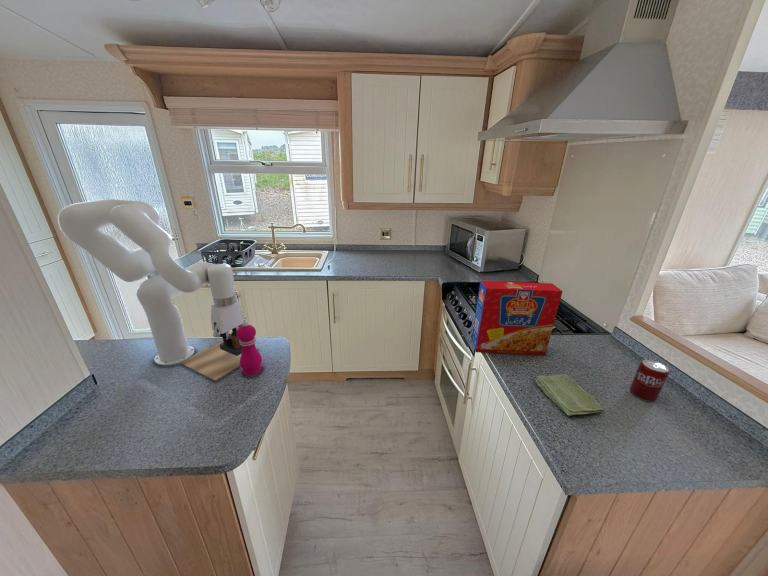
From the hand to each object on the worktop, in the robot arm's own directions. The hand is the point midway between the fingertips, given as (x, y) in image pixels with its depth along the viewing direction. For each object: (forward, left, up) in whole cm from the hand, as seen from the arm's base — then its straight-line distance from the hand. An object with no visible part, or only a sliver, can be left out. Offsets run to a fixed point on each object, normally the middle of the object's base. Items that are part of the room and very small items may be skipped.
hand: (232, 344), depth 113 cm
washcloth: (+111, +39, -6) cm, 118 cm away
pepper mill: (+12, -2, -6) cm, 14 cm away
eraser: (0, 0, -2) cm, 2 cm away
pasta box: (+90, +60, -6) cm, 108 cm away
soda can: (+134, +53, -6) cm, 144 cm away
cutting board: (-4, -4, -6) cm, 8 cm away
